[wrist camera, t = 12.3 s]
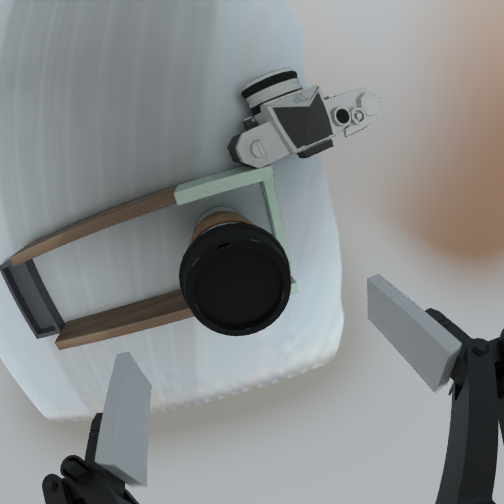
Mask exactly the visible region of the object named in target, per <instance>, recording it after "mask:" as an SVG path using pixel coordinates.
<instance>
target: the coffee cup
mask: <svg viewBox="0 0 504 504" xmlns="http://www.w3.org/2000/svg"><path fill="white" fill-rule="evenodd" d="M290 273H291V272H290V265H289V261H288V258H287V255H286V253H285V250H284V249H283V247H282V246H281V244H280V243H279V241H278V240H277V239H276V238H275V237H274V236H273V235H272V234H270V233H269V232H267V231H266V230H264V229H262V228H260V227H257V226H256V225H254V224H253V223H252V222H250V221H249V220H247V219H246V218H244V217H243V216H241V215H240V214H239V213H238V212H236V211H235V210H233V209H230V208H227V207H216V208H212V209H210V210H208V211H207V212H205V213H204V214H203V215H202V216H201V217H200V219H199V220H198V222H197V225H196V228H195V231H194V233H193V236H192V239H191V242H190V244H189V247H188V249H187V251H186V253H185V254H184V256H183V259H182V262H181V265H180V272H179V281H180V287H181V291H182V294H183V297H184V300H185V301H186V303H187V305H188V306H189V308H190V310H191V311H192V313H193V314H194V316H195V317H196V318H197V319H198V320H199V321H200V322H201V323H202V324H203V325H204V326H206V327H207V328H209V329H210V330H213V331H215V332H217V333H220V334H224V335H229V336H244V335H249V334H253V333H256V332H258V331H261V330H263V329H265V328H266V327H268V326H269V325H271V324H272V323H273V322H274V321H275V320H276V319H277V318H278V317H279V316H280V315H281V313H282V312H283V311H284V309H285V307H286V305H287V303H288V300H289V296H290V293H291V276H290Z"/></svg>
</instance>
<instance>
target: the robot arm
mask: <svg viewBox="0 0 504 504" xmlns="http://www.w3.org/2000/svg"><path fill="white" fill-rule="evenodd" d="M367 290H368V291H367V292H368V319H369V320H370V321H371V322H372V323H373V324H374V325H375V326H376V327H377V329H378V330H379V331H380V332H381V333H382V334H383V335H384V336H385V337H386V338H387V339H388V341H389V342H390V343H391V344H392V345H393V346H394V347H395V348H396V349H397V351H398V352H399V353H400V354H401V355H402V356H403V357H404V358H405V360H406V361H407V362H408V363H409V364H410V365H411V366H412V367H413V369H414V370H415V371H416V372H417V373H418V374H419V375H420V377H421V378H422V379H423V380H424V381H425V382H426V383H427V385H428V386H429V387H430V388H431V389H432V391H433V392H435V393H436V392H438V391H439V390H441V389H442V388H443V387H445V386H446V385H447V383H448V381H449V378H450V377H451V378H452V379H453V381H454V382H453V384H452V387H451V389H450V391H449V395H451V393H452V410H451V421H450V431H449V439H448V447H447V453H446V459H445V465H444V470H443V475H442V479H441V484H440V489H439V493H438V496H437V500H436V503H435V504H496V503H495V502H494V501H493V500H492V493H493V487H494V480H495V473H496V463H497V451H498V420H499V424H500V429H501V433H502V438H503V443H504V329H503V330H502V332H501V335H500V337H499V338H496V339H494V340H491V341H486V340H484V339H480V338H477V339H472V338H470V337H469V336H468V335H467V334H466V333H465V332H463V331H462V330H461V329H460V328H459V327H458V326H456V325H455V324H454V323H452V322H451V321H450V320H449V319H448V318H446V317H445V316H444V315H443V314H442V313H441V312H439V311H437V310H434V309H432V308H429V309H427V310H426V311H424V310H423V309H421V308H420V307H419V306H418V305H416V304H415V303H414V302H413V301H411V299H409V298H408V297H407V296H406V295H404V294H403V293H402V292H401V291H399V290H398V289H397V288H396V287H394V286H393V285H392V284H391V283H389V282H388V281H387V280H386V279H384V278H383V277H382V276H380V275H379V274H377V275H375V276H372V277H370V278H367ZM151 387H152V385H151V384H150V383H149V381H148V380H147V378H146V377H145V375H144V374H143V372H142V371H141V369H140V368H139V367H138V365H137V363H136V362H135V360H134V359H133V357H132V356H131V354H130V353H129V352H126V353H122V354H117V357H116V361H115V364H114V368H113V372H112V376H111V380H110V384H109V388H108V393H107V397H106V402H105V406H104V411H103V413H97V414H96V416H95V418H94V419H93V421H92V424H91V429H90V431H91V432H90V433H89V439H88V444H87V450H86V455H85V461H84V460H82V459H81V458H80V457H79V456H76V455H70V456H68V457H66V458H65V459H64V460H63V462H62V464H61V469H60V471H61V474H62V475H63V476H64V477H66V478H60V477H59V476H57V475H55V474H49V475H48V476H46V477H45V478H44V480H43V483H42V489H43V493H44V498H45V503H46V504H139V503H138V502H137V501H136V499H135V498H134V497H133V496H132V495H131V494H130V492H129V491H128V490H126V489H125V483H126V484H128V485H130V486H131V487H147V447H148V425H149V411H150V398H151Z"/></svg>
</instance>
